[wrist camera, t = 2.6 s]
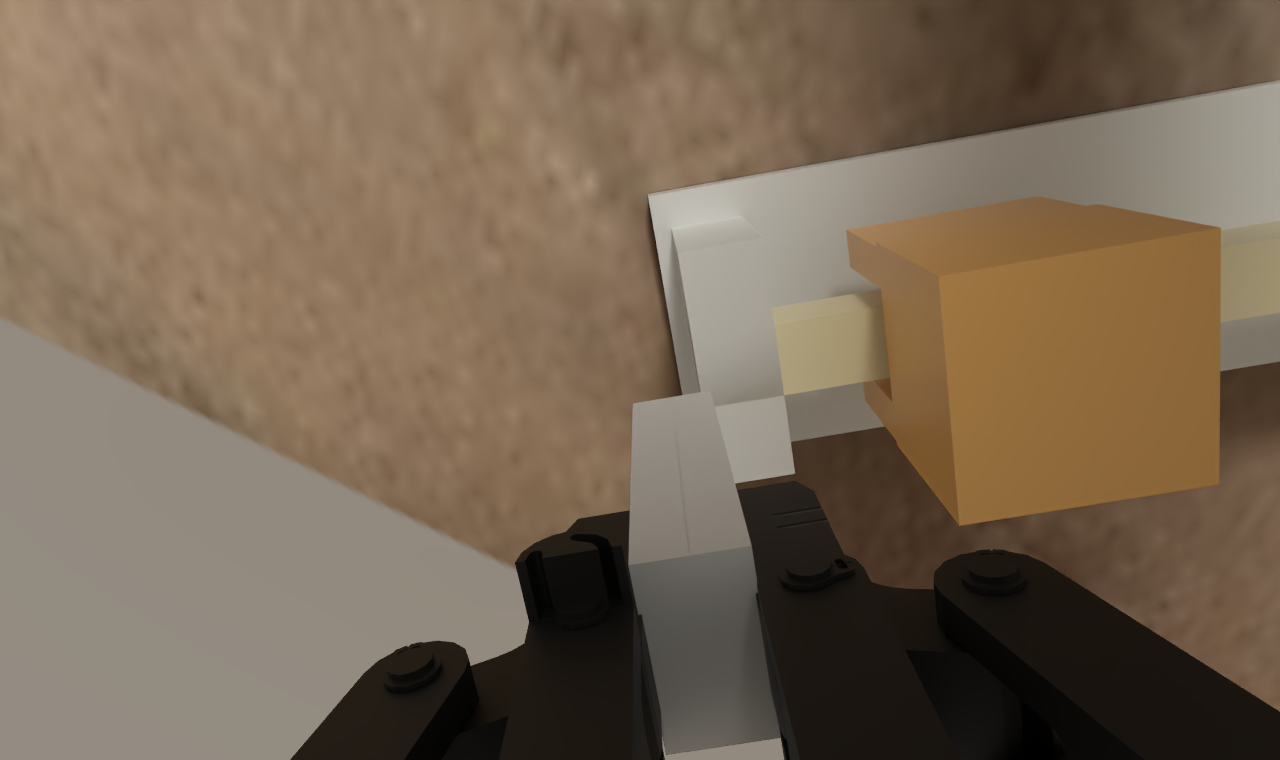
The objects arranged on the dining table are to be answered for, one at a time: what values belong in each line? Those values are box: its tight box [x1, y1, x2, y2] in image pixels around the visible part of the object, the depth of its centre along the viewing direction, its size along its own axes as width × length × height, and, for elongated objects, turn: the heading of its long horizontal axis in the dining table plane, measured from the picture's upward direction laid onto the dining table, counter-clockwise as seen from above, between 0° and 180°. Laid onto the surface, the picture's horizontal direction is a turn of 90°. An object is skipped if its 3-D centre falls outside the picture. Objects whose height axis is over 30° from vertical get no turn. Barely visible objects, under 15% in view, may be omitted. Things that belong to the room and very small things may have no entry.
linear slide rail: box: [648, 80, 1280, 483], centre depth 23 cm, size 8×29×7 cm, turn 100°
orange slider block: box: [846, 196, 1221, 526], centre depth 20 cm, size 5×5×8 cm
